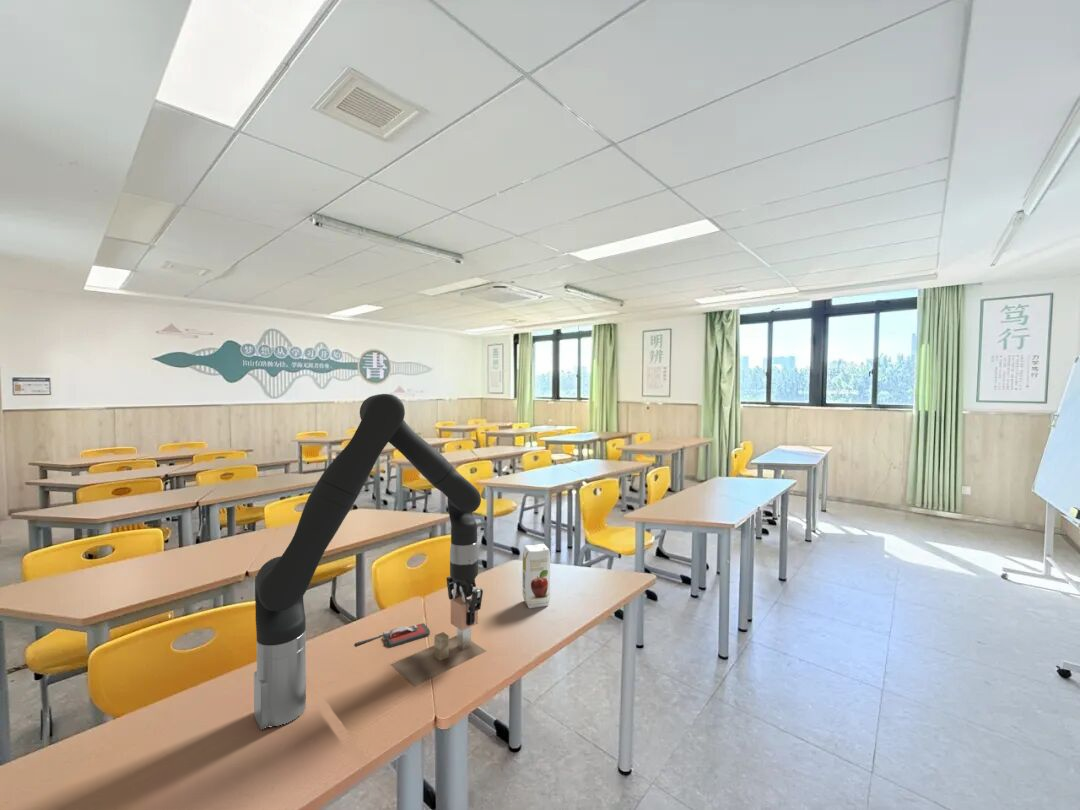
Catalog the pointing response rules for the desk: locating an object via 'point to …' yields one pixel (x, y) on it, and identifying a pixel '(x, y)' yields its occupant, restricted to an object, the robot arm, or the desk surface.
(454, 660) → the board
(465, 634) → the post
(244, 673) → the desk surface
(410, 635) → the walkie-talkie
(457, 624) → the peach cube
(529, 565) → the juice carton
